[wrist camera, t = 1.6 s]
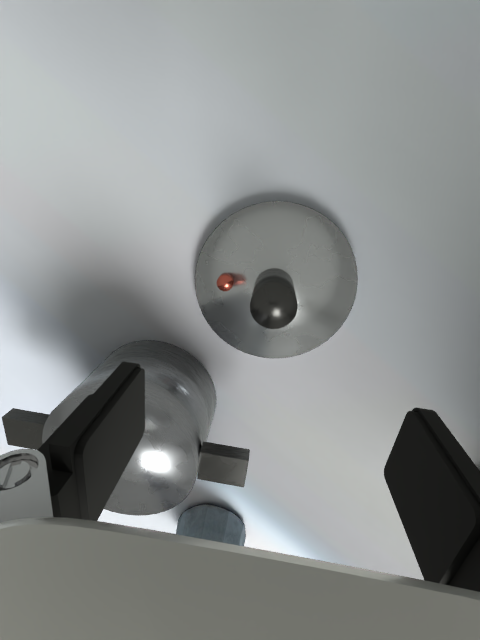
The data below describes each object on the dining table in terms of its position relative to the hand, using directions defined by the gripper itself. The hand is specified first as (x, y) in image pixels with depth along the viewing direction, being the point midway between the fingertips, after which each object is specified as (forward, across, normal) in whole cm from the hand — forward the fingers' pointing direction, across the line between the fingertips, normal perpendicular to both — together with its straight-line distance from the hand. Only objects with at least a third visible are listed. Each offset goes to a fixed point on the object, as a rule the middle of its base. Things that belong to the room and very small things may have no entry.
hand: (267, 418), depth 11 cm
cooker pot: (+18, +10, +14) cm, 25 cm away
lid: (+18, 0, 0) cm, 18 cm away
